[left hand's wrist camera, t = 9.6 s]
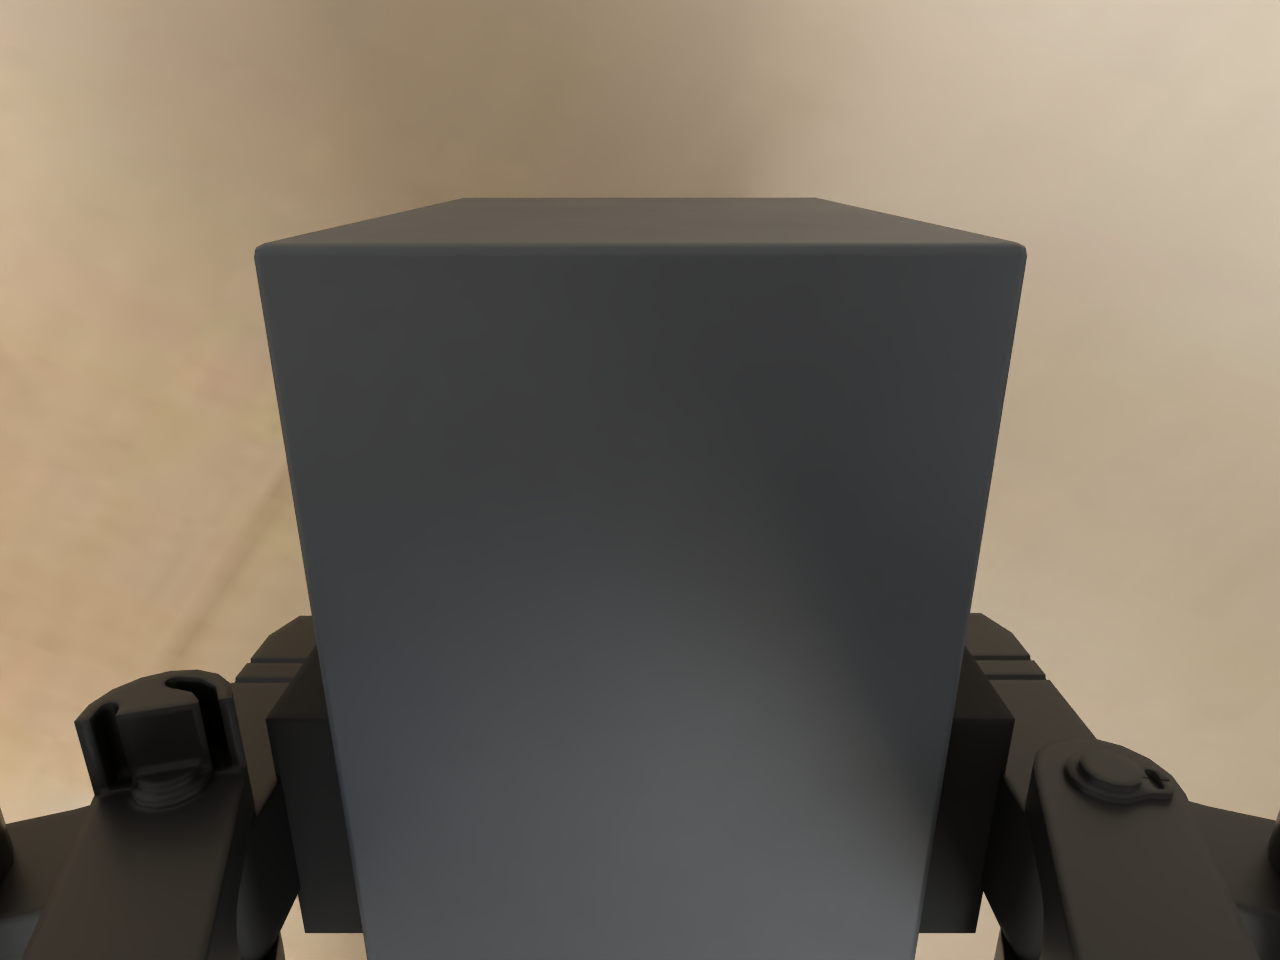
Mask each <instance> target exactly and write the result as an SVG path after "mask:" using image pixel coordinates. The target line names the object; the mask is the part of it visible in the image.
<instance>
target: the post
mask: <svg viewBox="0 0 1280 960" xmlns="http://www.w3.org/2000/svg"><path fill="white" fill-rule="evenodd" d="M254 259H255V265H256V271H257V277H258V284H259V290H260V296H261V302H262V309H263V315H264V321H265V327H266V333H267V340H268V346H269V352H270V358H271V364H272V371H273V377H274V383H275V389H276V395H277V402H278V408H279V414H280V420H281V426H282V433H283V439H284V445H285V451H286V457H287V464H288V470H289V476H290V482H291V488H292V495H293V501H294V507H295V513H296V519H297V526H298V532H299V538H300V544H301V550H302V557H303V563H304V569H305V575H306V581H307V588H308V594H309V600H310V606H311V613H312V619H313V625H314V631H315V637H316V644H317V650H318V656H319V662H320V668H321V675H322V681H323V687H324V693H325V699H326V706H327V712H328V718H329V724H330V730H331V737H332V743H333V749H334V755H335V761H336V768H337V774H338V780H339V786H340V792H341V799H342V805H343V811H344V817H345V823H346V830H347V836H348V842H349V848H350V854H351V861H352V867H353V873H354V879H355V886H356V892H357V898H358V904H359V910H360V917H361V923H362V929H363V935H364V941H365V948H366V954H367V960H914V959H915V953H916V946H917V940H918V934H919V928H920V921H921V915H922V909H923V903H924V896H925V890H926V884H927V878H928V871H929V865H930V859H931V853H932V846H933V840H934V834H935V828H936V821H937V815H938V809H939V803H940V796H941V790H942V784H943V778H944V771H945V765H946V759H947V753H948V746H949V740H950V734H951V728H952V721H953V715H954V709H955V703H956V696H957V690H958V684H959V678H960V671H961V665H962V659H963V653H964V646H965V640H966V634H967V628H968V621H969V615H970V609H971V603H972V596H973V590H974V584H975V578H976V571H977V565H978V559H979V553H980V546H981V540H982V534H983V528H984V521H985V515H986V509H987V503H988V496H989V490H990V484H991V478H992V471H993V465H994V459H995V453H996V446H997V440H998V434H999V428H1000V421H1001V415H1002V409H1003V403H1004V396H1005V390H1006V384H1007V378H1008V371H1009V365H1010V359H1011V353H1012V346H1013V340H1014V334H1015V328H1016V321H1017V315H1018V309H1019V303H1020V296H1021V290H1022V284H1023V278H1024V271H1025V265H1026V259H1027V254H1026V248H1025V246H1023V245H1020V244H1018V243H1016V242H1011V241H1007V240H1002V239H998V238H993V237H989V236H984V235H980V234H975V233H971V232H966V231H962V230H957V229H953V228H948V227H944V226H939V225H935V224H931V223H926V222H922V221H917V220H913V219H908V218H904V217H899V216H895V215H890V214H886V213H881V212H877V211H872V210H868V209H863V208H859V207H854V206H850V205H845V204H841V203H836V202H832V201H827V200H823V199H818V198H463V199H458V200H454V201H449V202H445V203H441V204H436V205H432V206H427V207H423V208H418V209H414V210H410V211H405V212H401V213H396V214H392V215H388V216H383V217H379V218H374V219H370V220H365V221H361V222H357V223H352V224H348V225H343V226H339V227H335V228H330V229H326V230H321V231H317V232H313V233H308V234H304V235H299V236H295V237H290V238H286V239H282V240H277V241H273V242H268V243H264V244H262V245H260V246H258V247H256V249H255V255H254Z"/></svg>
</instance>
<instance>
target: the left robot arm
mask: <svg viewBox="0 0 1280 960" xmlns="http://www.w3.org/2000/svg"><path fill="white" fill-rule="evenodd" d="M74 723H75V727H76V730H77V734H78V737H79V741H80V744H81V748H82V751H83V755H84V759H85V762H86V766H87V769H88V773H89V776H90V780H91V783H92V787H93V790H94V794H95V796H94V798H93V800H92V802H91V805H89V806H86V807H82V808H78V809H75V810H70V811H66V812H61V813H56V814H52V815H47V816H42V817H37V818H33V819H28V820H23V821H19V822H14V823H9V824H5V821H4V818H3V815H2V812H1V809H0V960H285V955H284V948H283V943H282V938H281V933H280V930H281V928H282V926H283V924H284V922H285V920H286V918H287V916H288V913H289V911H290V909H291V907H292V905H293V903H294V901H295V899H296V897H297V894H298V897H299V902H300V908H301V913H302V918H303V924H304V929H305V933H363V929H362V923H361V917H360V910H359V904H358V898H357V892H356V886H355V879H354V873H353V867H352V861H351V854H350V848H349V842H348V836H347V830H346V823H345V817H344V811H343V805H342V799H341V792H340V786H339V780H338V774H337V768H336V761H335V755H334V749H333V743H332V737H331V730H330V724H329V718H328V712H327V706H326V699H325V693H324V687H323V681H322V675H321V668H320V662H319V656H318V650H317V644H316V637H315V631H314V625H313V619H312V616H299V617H297V618H296V619H294V620H293V621H291V622H290V623H288V624H286V625H285V626H283V627H282V628H280V629H279V630H277V631H276V632H274V633H272V634H271V635H269V636H268V638H267V639H266V640H265V641H264V643H263V644H262V645H261V646H260V648H259V649H258V650H257V652H256V653H255V654H254V655H253V657H252V658H251V663H247V664H246V665H245V667H244V668H243V669H242V670H241V672H240V673H239V674H238V676H237V677H236V681H235V683H229V682H228V681H227V680H225V679H224V678H223V677H222V676H220V675H219V674H216V673H211V672H206V671H201V670H182V671H169V672H164V673H160V674H156V675H151V676H147V677H143V678H140V679H137V680H135V681H132V682H130V683H127V684H125V685H123V686H120V687H118V688H115V689H113V690H111V691H110V692H108V693H107V694H105V695H104V696H102V697H100V698H99V699H97V700H96V701H94V702H93V703H91V704H90V705H88V707H87V708H86V709H85V710H84V711H83V712H82V713H81V715H80V716H79V717H78V718H77V719H76V720H75V721H74ZM983 891H984V893H985V895H986V898H987V900H988V902H989V904H990V906H991V908H992V910H993V912H994V914H995V917H996V919H997V921H998V923H999V925H1000V927H1001V928H1000V933H999V938H998V943H997V948H996V953H995V958H994V960H1280V811H1279V814H1278V817H1277V820H1276V821H1275V820H1270V819H1265V818H1260V817H1256V816H1251V815H1246V814H1241V813H1237V812H1232V811H1227V810H1223V809H1218V808H1213V807H1208V806H1205V805H1201V804H1197V803H1194V802H1190V801H1188V799H1187V796H1186V794H1185V793H1184V791H1183V790H1182V789H1181V787H1180V786H1179V785H1178V783H1177V782H1176V781H1175V779H1174V778H1173V777H1172V775H1170V774H1169V773H1168V772H1166V771H1165V770H1164V769H1162V768H1161V767H1160V766H1158V765H1157V764H1156V763H1154V762H1153V761H1152V760H1150V759H1149V758H1147V757H1144V756H1142V755H1140V754H1138V753H1136V752H1134V751H1132V750H1130V749H1127V748H1125V747H1123V746H1120V745H1116V744H1113V743H1109V742H1105V741H1101V740H1097V739H1096V738H1095V736H1094V735H1093V734H1092V733H1091V731H1090V730H1089V729H1088V728H1087V726H1086V725H1085V724H1084V723H1083V721H1082V720H1081V719H1080V718H1079V716H1078V715H1077V714H1076V713H1075V711H1074V710H1073V709H1072V708H1071V706H1070V705H1069V704H1068V703H1067V701H1066V700H1065V699H1064V698H1063V696H1062V695H1061V694H1060V693H1059V691H1058V690H1057V689H1056V688H1055V686H1054V685H1053V684H1052V682H1051V681H1050V680H1046V678H1045V674H1044V672H1043V671H1042V670H1041V669H1040V667H1039V666H1038V665H1037V664H1036V662H1035V661H1034V660H1030V655H1029V654H1028V652H1027V651H1026V650H1025V649H1024V647H1023V646H1022V645H1021V644H1020V642H1019V641H1018V640H1017V639H1016V637H1015V636H1014V635H1013V634H1012V633H1011V632H1010V631H1008V630H1007V629H1005V628H1003V627H1002V626H1000V625H999V624H997V623H996V622H994V621H992V620H991V619H989V618H988V617H986V616H985V615H983V614H981V613H970V615H969V621H968V628H967V634H966V640H965V646H964V653H963V659H962V665H961V671H960V678H959V684H958V690H957V696H956V703H955V709H954V715H953V721H952V728H951V734H950V740H949V746H948V753H947V759H946V765H945V771H944V778H943V784H942V790H941V796H940V803H939V809H938V815H937V821H936V828H935V834H934V840H933V846H932V853H931V859H930V865H929V871H928V878H927V884H926V890H925V896H924V903H923V909H922V915H921V921H920V928H919V933H975V932H976V927H977V921H978V916H979V911H980V905H981V900H982V894H983Z"/></svg>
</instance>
